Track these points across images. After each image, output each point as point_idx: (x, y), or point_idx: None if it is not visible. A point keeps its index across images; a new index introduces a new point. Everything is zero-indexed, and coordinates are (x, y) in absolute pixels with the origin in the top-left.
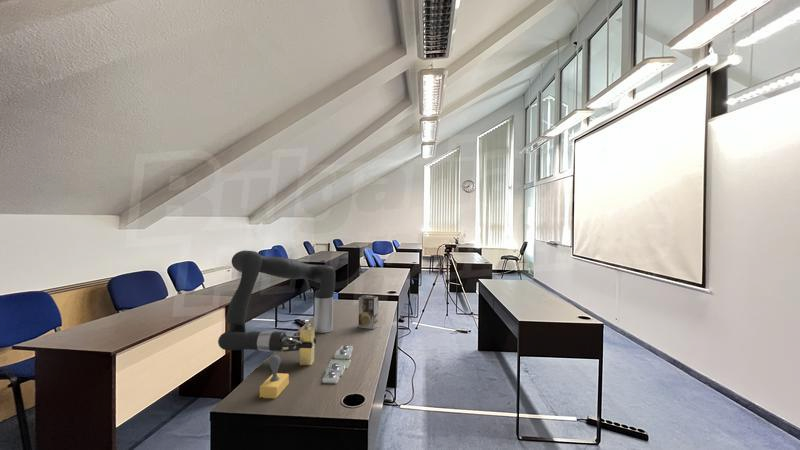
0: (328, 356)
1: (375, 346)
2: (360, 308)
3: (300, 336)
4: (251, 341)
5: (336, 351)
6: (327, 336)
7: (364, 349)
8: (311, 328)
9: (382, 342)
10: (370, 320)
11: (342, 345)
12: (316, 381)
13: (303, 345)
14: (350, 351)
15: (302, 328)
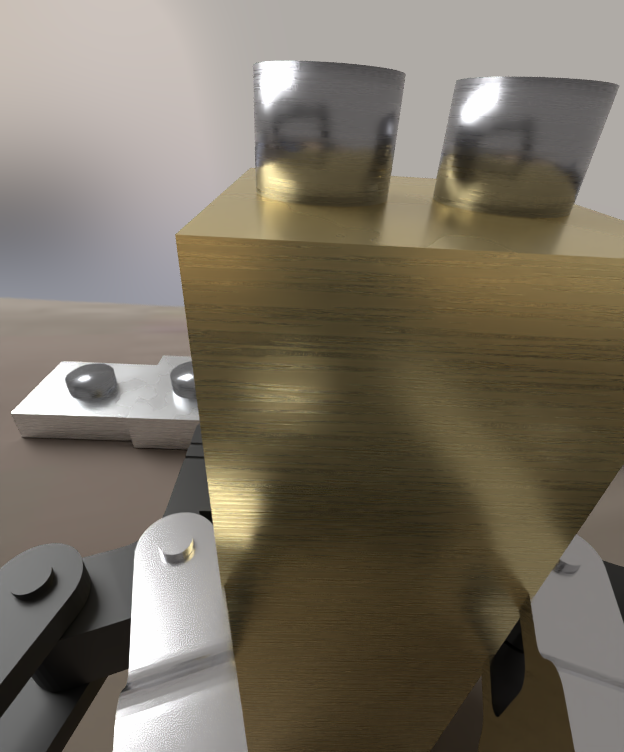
0: (162, 499)
1: (72, 316)
2: None
3: (584, 490)
4: None
5: (167, 418)
6: None
7: (97, 344)
8: (428, 182)
9: (26, 300)
10: None
11: (15, 408)
12: (616, 492)
13: None
14: (186, 358)
15: (574, 238)
